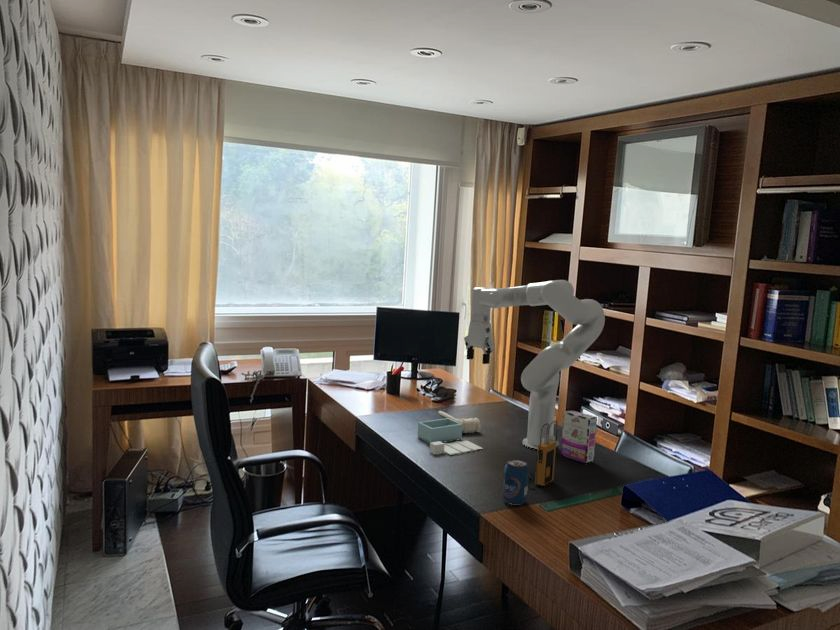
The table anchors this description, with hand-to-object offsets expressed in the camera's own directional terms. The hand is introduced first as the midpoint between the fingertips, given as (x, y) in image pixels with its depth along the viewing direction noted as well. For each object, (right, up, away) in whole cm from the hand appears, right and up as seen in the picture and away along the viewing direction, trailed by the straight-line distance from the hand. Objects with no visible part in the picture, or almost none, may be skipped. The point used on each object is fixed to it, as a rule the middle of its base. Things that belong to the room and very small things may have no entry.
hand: (477, 361), depth 249 cm
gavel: (-9, -27, +11) cm, 30 cm away
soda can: (+5, -36, -66) cm, 75 cm away
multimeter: (+13, -35, -48) cm, 61 cm away
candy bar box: (+33, -33, -26) cm, 53 cm away
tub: (-16, -29, -11) cm, 34 cm away
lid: (-11, -30, -22) cm, 39 cm away
